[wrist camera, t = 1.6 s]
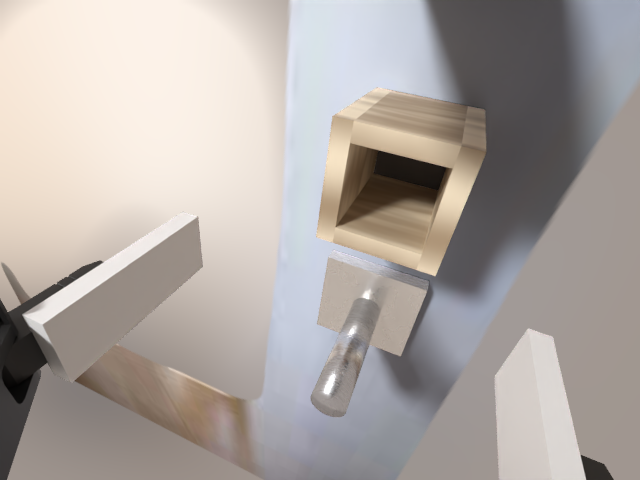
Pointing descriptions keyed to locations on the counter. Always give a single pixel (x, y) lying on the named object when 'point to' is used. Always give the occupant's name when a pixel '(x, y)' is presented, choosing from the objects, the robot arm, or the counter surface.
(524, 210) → the counter surface
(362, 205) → the birch sleeve
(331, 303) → the post stand
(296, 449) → the counter surface
